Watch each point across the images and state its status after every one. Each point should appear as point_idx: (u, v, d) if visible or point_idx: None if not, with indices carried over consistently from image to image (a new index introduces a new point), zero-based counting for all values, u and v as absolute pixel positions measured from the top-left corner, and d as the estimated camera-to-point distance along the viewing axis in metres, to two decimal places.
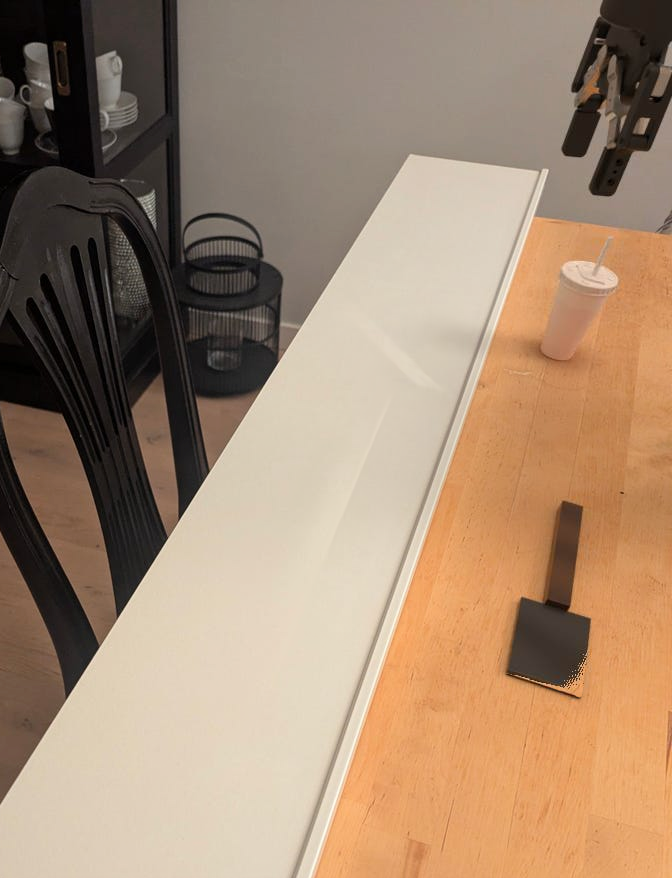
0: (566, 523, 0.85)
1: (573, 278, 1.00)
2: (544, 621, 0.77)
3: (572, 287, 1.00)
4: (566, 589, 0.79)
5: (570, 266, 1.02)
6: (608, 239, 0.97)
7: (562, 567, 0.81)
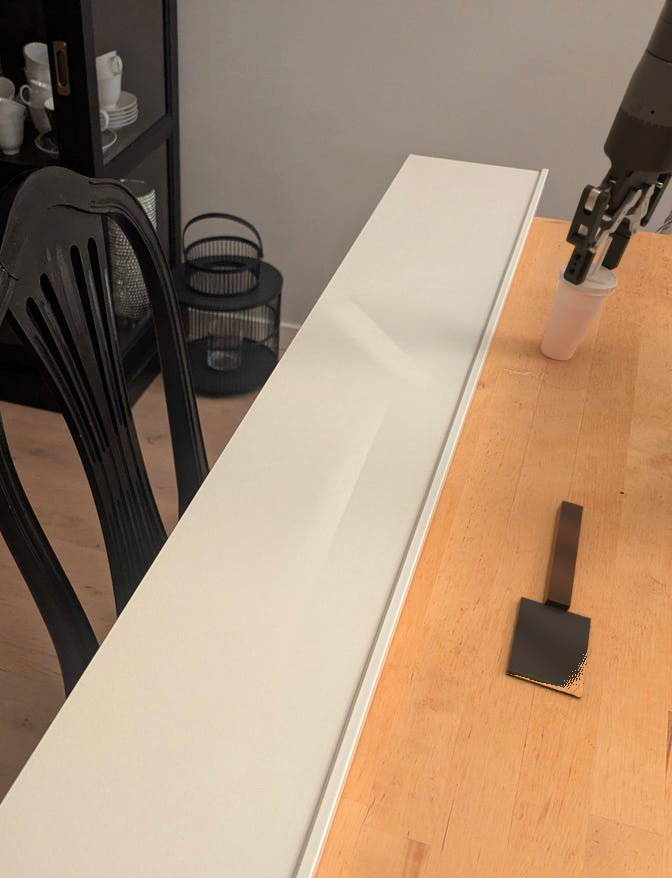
0: (566, 523, 0.85)
1: None
2: (544, 621, 0.77)
3: (572, 287, 1.00)
4: (566, 589, 0.79)
5: None
6: (608, 239, 0.97)
7: (562, 567, 0.81)
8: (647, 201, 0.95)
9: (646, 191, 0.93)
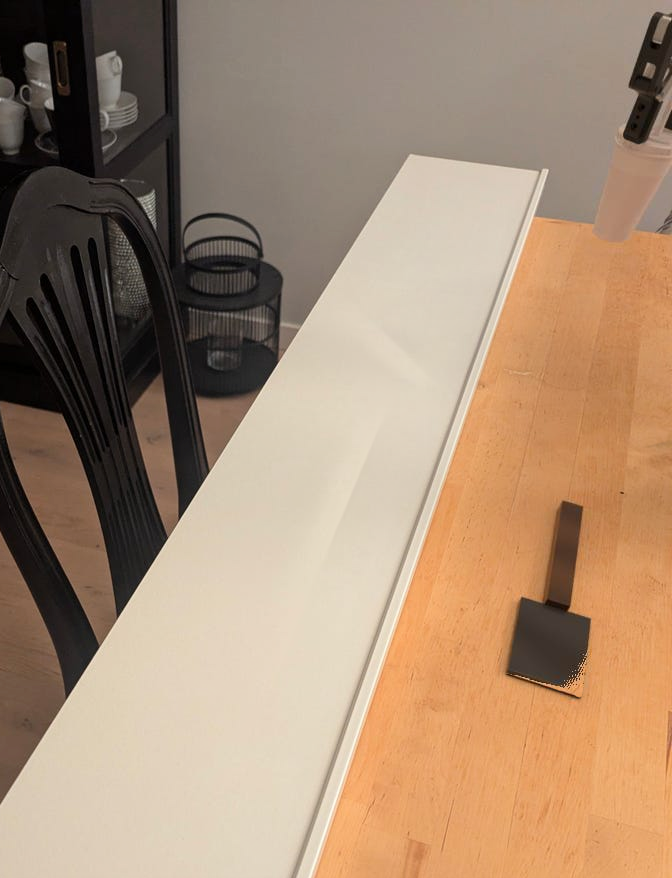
0: (566, 523, 0.85)
1: None
2: (544, 621, 0.77)
3: (632, 149, 0.87)
4: (566, 589, 0.79)
5: None
6: None
7: (562, 567, 0.81)
8: None
9: None
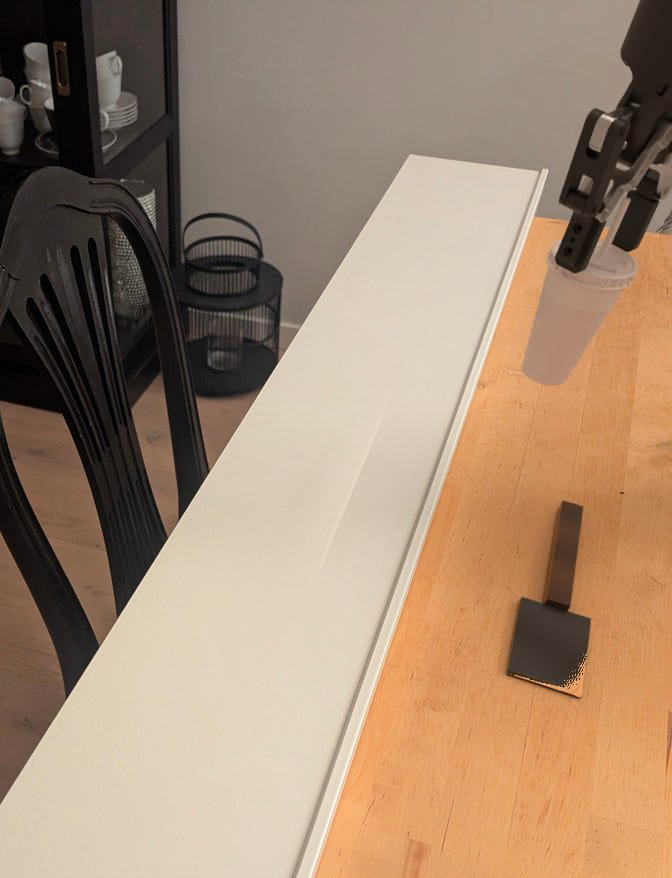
0: (566, 523, 0.85)
1: None
2: (544, 621, 0.77)
3: (567, 276, 0.65)
4: (566, 589, 0.79)
5: None
6: (623, 202, 0.63)
7: (562, 567, 0.81)
8: None
9: None
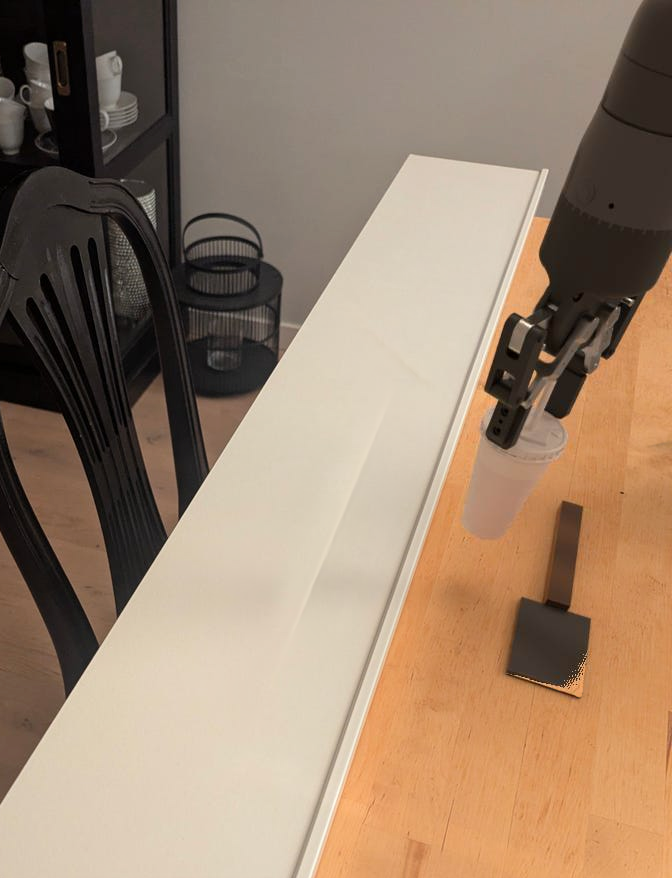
0: (566, 523, 0.85)
1: None
2: (544, 621, 0.77)
3: (498, 449, 0.66)
4: (566, 589, 0.79)
5: None
6: (549, 382, 0.64)
7: (562, 567, 0.81)
8: (609, 329, 0.62)
9: (607, 318, 0.60)
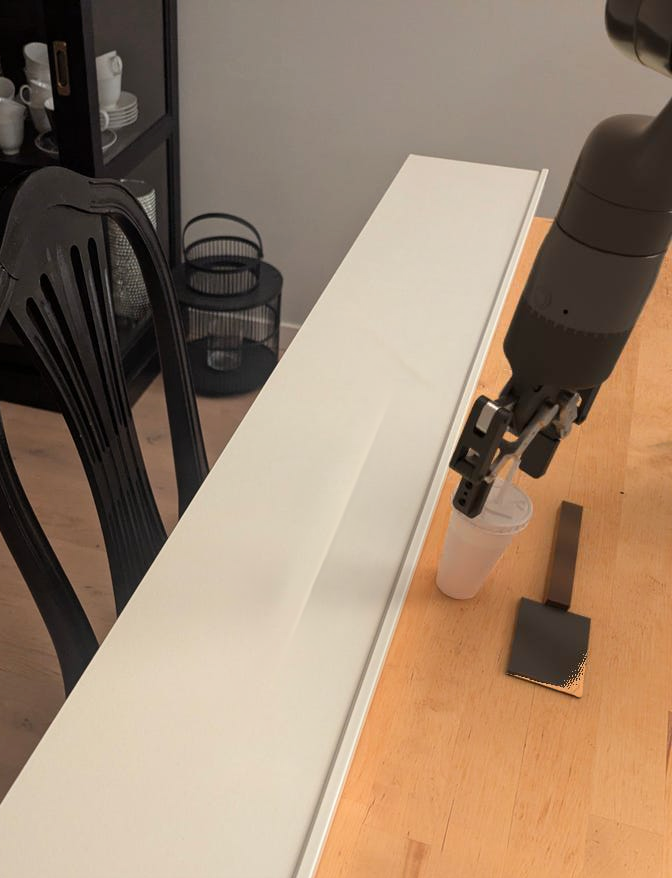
0: (566, 523, 0.85)
1: None
2: (544, 621, 0.77)
3: (467, 521, 0.72)
4: (566, 589, 0.79)
5: None
6: (514, 462, 0.69)
7: (562, 567, 0.81)
8: (573, 408, 0.67)
9: (567, 404, 0.65)
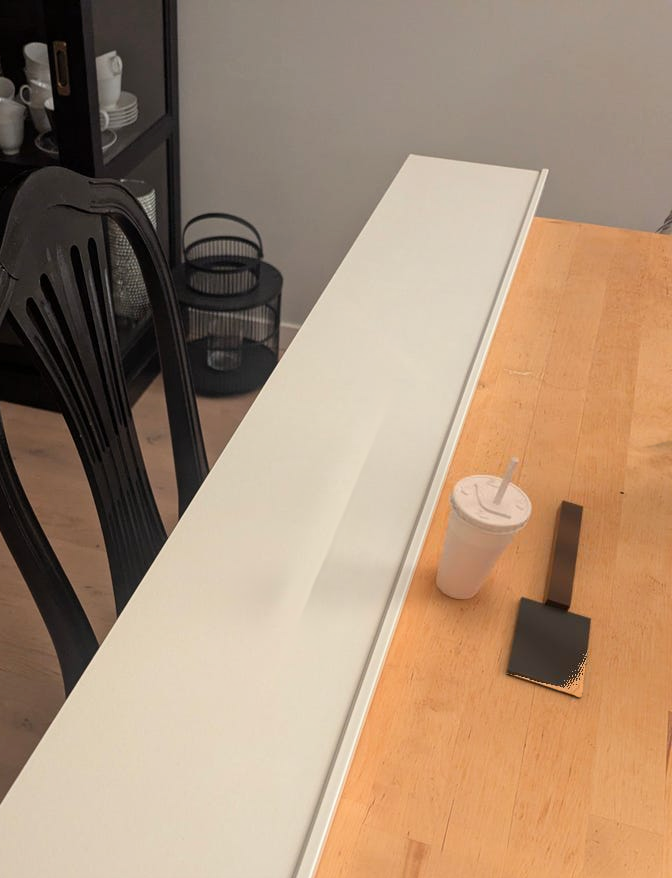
0: (566, 523, 0.85)
1: (467, 508, 0.72)
2: (544, 621, 0.77)
3: (466, 521, 0.72)
4: (566, 589, 0.79)
5: (466, 486, 0.74)
6: (512, 462, 0.69)
7: (562, 567, 0.81)
8: None
9: None
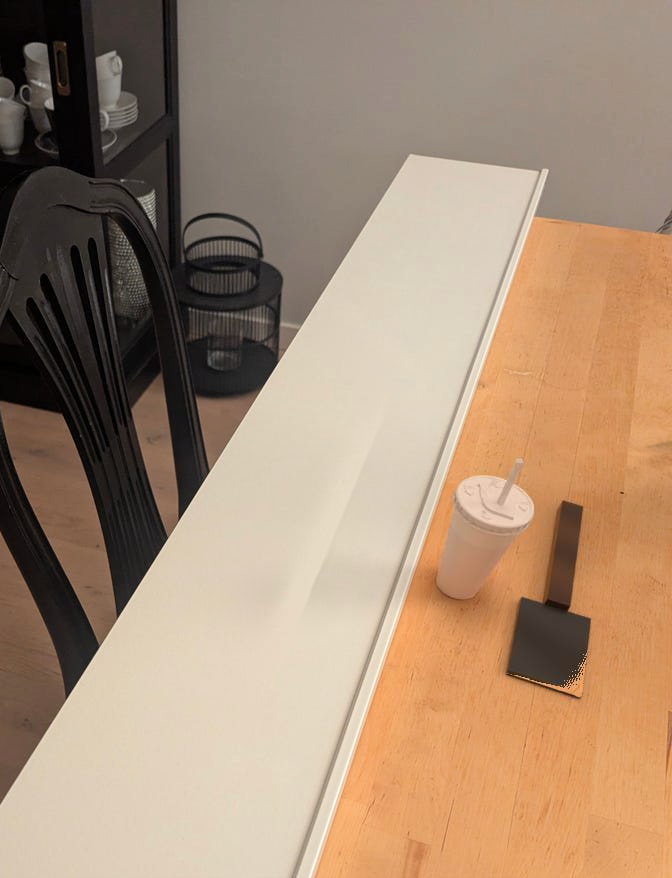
0: (566, 523, 0.85)
1: (470, 509, 0.72)
2: (544, 621, 0.77)
3: (468, 521, 0.72)
4: (566, 589, 0.79)
5: (469, 486, 0.73)
6: (516, 463, 0.69)
7: (562, 567, 0.81)
8: None
9: None
